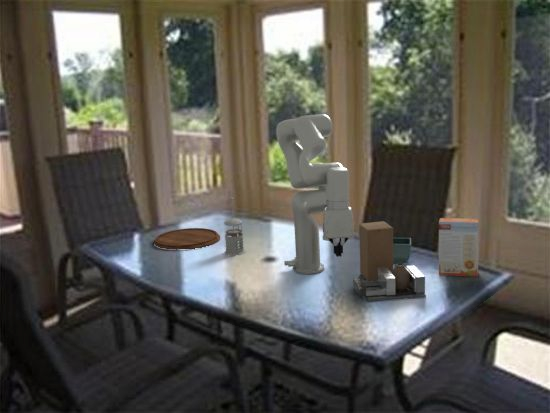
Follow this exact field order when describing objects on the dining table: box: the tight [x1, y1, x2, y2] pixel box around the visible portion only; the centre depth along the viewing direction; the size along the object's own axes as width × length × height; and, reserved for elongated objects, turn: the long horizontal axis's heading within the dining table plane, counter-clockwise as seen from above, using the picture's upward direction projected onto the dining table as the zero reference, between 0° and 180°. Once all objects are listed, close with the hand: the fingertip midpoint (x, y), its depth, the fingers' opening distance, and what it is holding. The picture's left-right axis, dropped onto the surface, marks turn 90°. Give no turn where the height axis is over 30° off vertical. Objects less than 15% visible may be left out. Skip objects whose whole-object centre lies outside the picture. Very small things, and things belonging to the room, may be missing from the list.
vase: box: [391, 264, 410, 290], centre depth 212 cm, size 7×7×9 cm
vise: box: [364, 264, 427, 303], centre depth 212 cm, size 20×14×7 cm
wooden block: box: [358, 220, 394, 281], centre depth 227 cm, size 10×10×20 cm
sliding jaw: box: [352, 267, 395, 298], centre depth 212 cm, size 12×12×6 cm
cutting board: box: [153, 227, 221, 250], centre depth 291 cm, size 32×32×2 cm
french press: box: [223, 197, 247, 257], centre depth 267 cm, size 10×12×25 cm
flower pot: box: [393, 237, 412, 265], centre depth 243 cm, size 9×9×9 cm
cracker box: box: [438, 217, 480, 278], centre depth 226 cm, size 14×6×21 cm, turn 71°
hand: (338, 255), depth 210 cm, fingers closed
